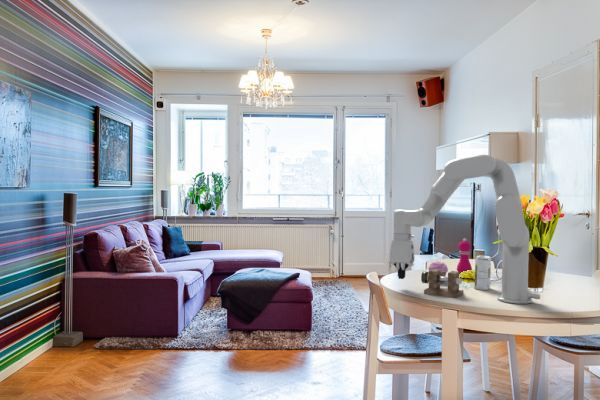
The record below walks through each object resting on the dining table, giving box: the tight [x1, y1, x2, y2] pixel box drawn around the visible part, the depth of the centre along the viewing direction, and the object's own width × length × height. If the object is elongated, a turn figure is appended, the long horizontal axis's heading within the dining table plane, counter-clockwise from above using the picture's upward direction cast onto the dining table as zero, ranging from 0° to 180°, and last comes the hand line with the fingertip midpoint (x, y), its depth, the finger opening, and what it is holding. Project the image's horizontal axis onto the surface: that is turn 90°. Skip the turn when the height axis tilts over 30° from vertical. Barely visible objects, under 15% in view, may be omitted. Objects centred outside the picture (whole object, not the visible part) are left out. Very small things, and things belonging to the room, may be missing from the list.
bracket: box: [423, 269, 464, 299], centre depth 200 cm, size 14×9×10 cm, turn 56°
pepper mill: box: [456, 238, 473, 274], centre depth 238 cm, size 7×7×20 cm
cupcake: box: [427, 261, 449, 284], centre depth 226 cm, size 9×9×10 cm
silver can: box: [474, 255, 492, 291], centre depth 211 cm, size 6×6×14 cm
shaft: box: [420, 271, 463, 285], centre depth 201 cm, size 16×5×5 cm, turn 56°
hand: (401, 278), depth 211 cm, fingers closed
